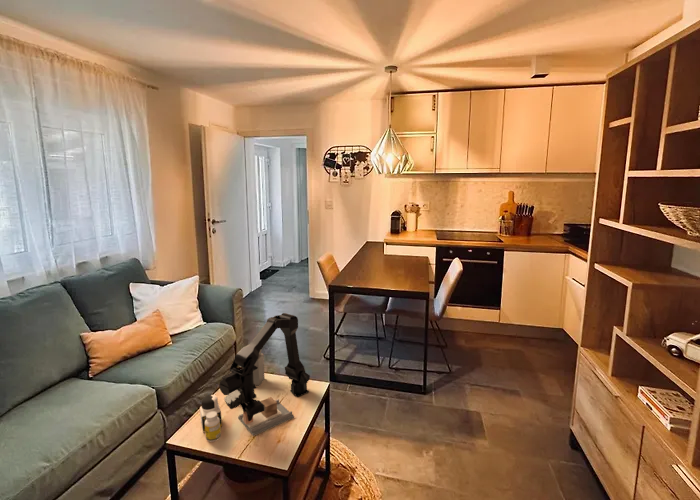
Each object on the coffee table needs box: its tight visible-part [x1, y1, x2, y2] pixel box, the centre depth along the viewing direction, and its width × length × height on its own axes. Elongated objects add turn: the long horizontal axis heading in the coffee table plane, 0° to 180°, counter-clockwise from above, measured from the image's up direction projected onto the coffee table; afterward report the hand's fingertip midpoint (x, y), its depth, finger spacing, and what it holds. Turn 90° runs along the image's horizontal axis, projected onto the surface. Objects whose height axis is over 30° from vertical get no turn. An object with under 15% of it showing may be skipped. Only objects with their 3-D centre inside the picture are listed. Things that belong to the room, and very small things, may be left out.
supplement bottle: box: [204, 411, 222, 443], centre depth 143 cm, size 5×5×10 cm
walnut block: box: [260, 396, 277, 418], centre depth 155 cm, size 5×5×5 cm
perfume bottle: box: [253, 349, 266, 387], centre depth 181 cm, size 7×7×18 cm
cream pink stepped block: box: [242, 409, 282, 428], centre depth 153 cm, size 14×7×5 cm, turn 129°
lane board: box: [237, 399, 295, 437], centre depth 155 cm, size 18×14×2 cm
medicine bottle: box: [199, 394, 223, 433], centre depth 150 cm, size 7×7×12 cm
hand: (248, 418), depth 150 cm, fingers closed on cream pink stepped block, 2 cm apart
